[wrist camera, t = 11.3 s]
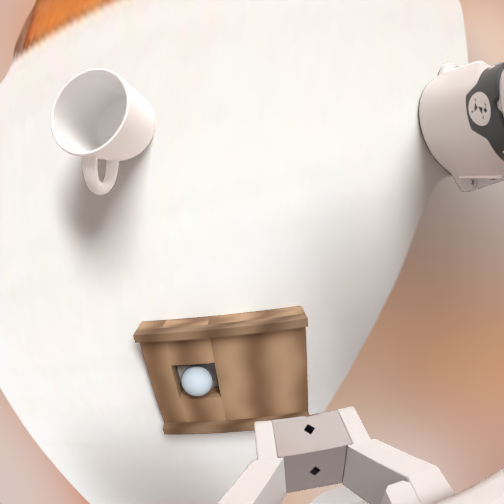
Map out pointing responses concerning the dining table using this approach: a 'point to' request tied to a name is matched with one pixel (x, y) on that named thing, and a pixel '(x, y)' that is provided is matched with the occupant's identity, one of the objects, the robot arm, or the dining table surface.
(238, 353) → the wooden tray
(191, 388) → the ball
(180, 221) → the dining table surface
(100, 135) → the mug
